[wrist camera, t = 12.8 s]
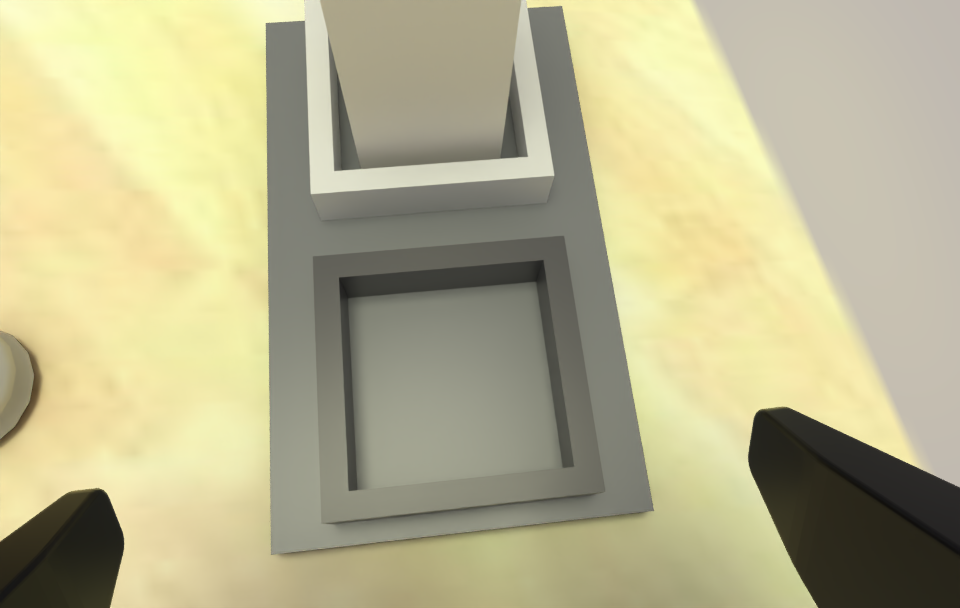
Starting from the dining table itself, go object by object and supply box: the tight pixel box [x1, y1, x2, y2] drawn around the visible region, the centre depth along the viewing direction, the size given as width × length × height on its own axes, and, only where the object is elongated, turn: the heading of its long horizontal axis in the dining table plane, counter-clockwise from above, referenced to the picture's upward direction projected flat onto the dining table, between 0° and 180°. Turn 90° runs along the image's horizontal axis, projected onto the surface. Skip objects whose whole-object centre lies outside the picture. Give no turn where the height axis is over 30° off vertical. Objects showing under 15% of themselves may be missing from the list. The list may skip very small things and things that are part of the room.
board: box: [266, 0, 654, 555], centre depth 24 cm, size 20×12×3 cm, turn 6°
